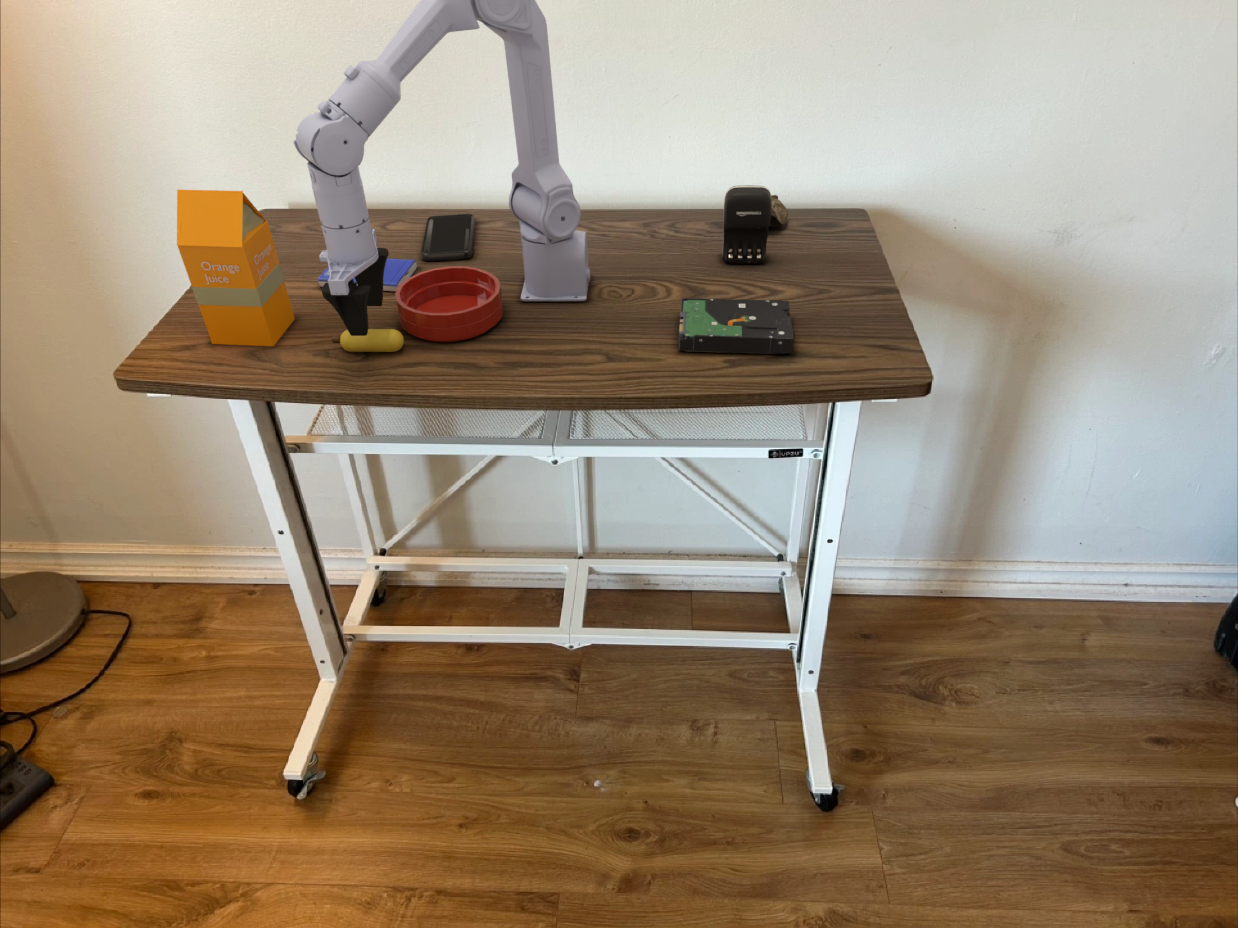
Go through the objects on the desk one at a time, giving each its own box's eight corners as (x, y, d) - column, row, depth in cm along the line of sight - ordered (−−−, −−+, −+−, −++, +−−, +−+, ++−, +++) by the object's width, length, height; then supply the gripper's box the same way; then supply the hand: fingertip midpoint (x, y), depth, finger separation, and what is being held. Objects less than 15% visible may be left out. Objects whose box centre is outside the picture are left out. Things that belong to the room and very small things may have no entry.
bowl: (509, 294, 130) (506, 265, 127) (495, 344, 119) (492, 314, 116) (413, 294, 130) (408, 266, 127) (390, 344, 119) (384, 315, 116)
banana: (407, 344, 119) (404, 324, 117) (402, 356, 117) (398, 336, 115) (338, 344, 120) (333, 324, 118) (332, 356, 117) (327, 336, 115)
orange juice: (236, 316, 126) (191, 177, 114) (295, 318, 125) (257, 179, 113) (210, 344, 120) (160, 202, 108) (273, 347, 119) (229, 203, 107)
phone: (420, 255, 138) (428, 215, 149) (421, 261, 138) (429, 222, 150) (471, 252, 138) (475, 213, 150) (472, 258, 139) (475, 219, 151)
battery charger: (721, 266, 135) (725, 194, 128) (720, 255, 138) (724, 184, 131) (767, 267, 135) (774, 194, 128) (765, 255, 138) (772, 184, 131)
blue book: (317, 278, 132) (396, 283, 130) (339, 253, 138) (415, 258, 136) (319, 287, 133) (398, 293, 131) (341, 263, 139) (417, 267, 137)
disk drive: (786, 317, 123) (679, 314, 124) (789, 299, 121) (680, 296, 122) (792, 357, 115) (677, 353, 116) (795, 338, 113) (678, 334, 114)
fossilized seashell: (783, 199, 149) (724, 210, 150) (784, 174, 143) (722, 186, 144) (792, 237, 146) (731, 248, 147) (793, 213, 140) (730, 225, 141)
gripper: (329, 196, 113) (351, 292, 121) (292, 245, 101) (319, 348, 110) (384, 195, 112) (402, 292, 121) (354, 245, 101) (376, 348, 109)
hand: (366, 319), depth 115 cm, fingers open, 7 cm apart
